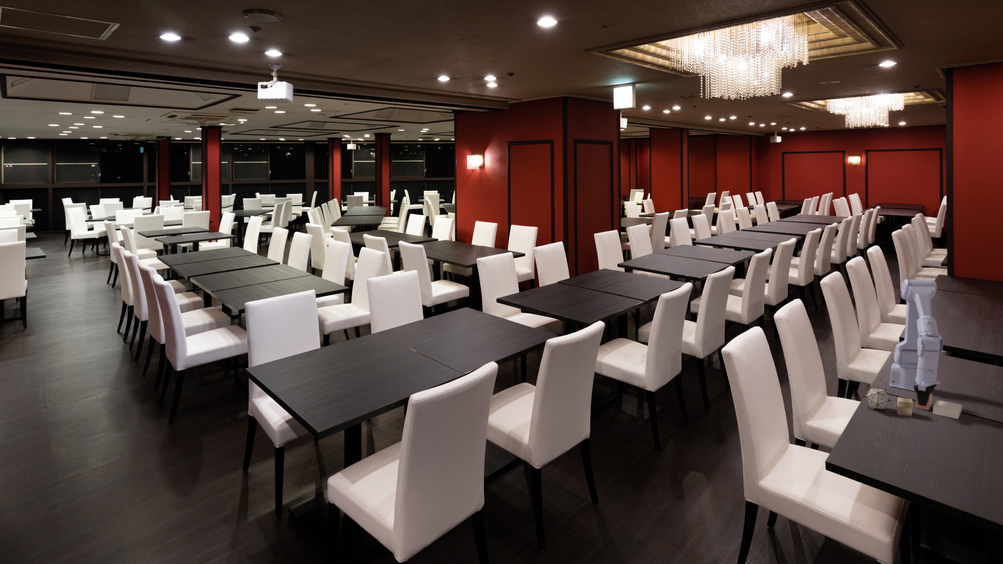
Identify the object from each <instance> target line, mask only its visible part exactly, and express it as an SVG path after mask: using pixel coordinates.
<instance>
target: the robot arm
mask: <svg viewBox="0 0 1003 564" xmlns="http://www.w3.org/2000/svg"><path fill="white" fill-rule="evenodd" d="M937 287H938V286H937V282H936V281H935V279H908V278H905V279H904V280H903V281H902V283H901V291H900V296H901V299H903V300H904V301H906V303H905V304H906V312H905V328H904V340H902V341H901V342H898V343H896V345H895V349H894V352H893V360H894V362H892V364H891V367H890V373H889V374H890V375H889V385H888V386H889V387H892V388H893V387H894V388H897V389H903V390H907V391H911V392H912V391H913V392H915V393H916V395H917V399H918V404H919V405H921V406H926V404H927V402H928V399H929V396H930V394H933V392H934V389H935V388H936V387H937V385H940V384H941V380H940V381H939V380H937V376H938V375H937V373H938V365H939V359H940V358H939V356H940V353H941V352H942V351H943V349H944V348H943V347H944V343H943V338H942V336H941V334H940V333H939V330H938V325H937V320H936V318H934V317H932V300H933V299H934V297H935V295H936V292H937Z"/></svg>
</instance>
